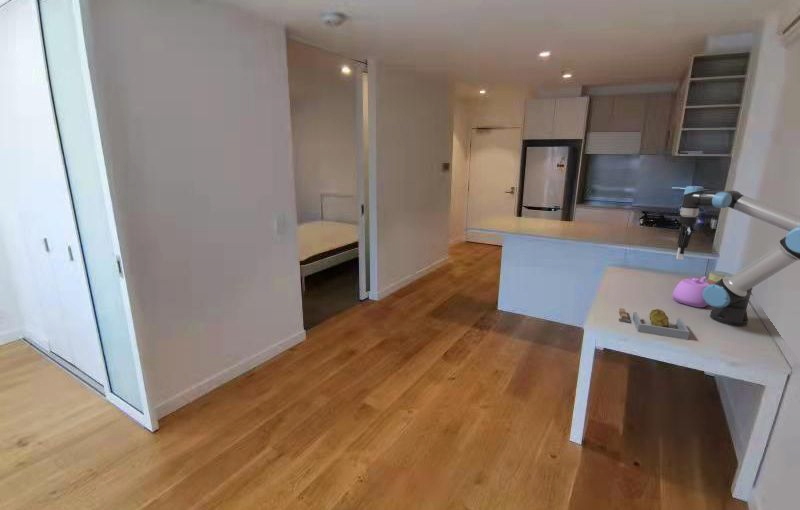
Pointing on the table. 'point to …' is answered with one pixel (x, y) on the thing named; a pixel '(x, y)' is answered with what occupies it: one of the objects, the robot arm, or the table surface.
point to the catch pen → (662, 329)
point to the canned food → (716, 276)
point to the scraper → (623, 316)
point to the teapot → (691, 292)
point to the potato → (659, 318)
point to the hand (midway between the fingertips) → (679, 259)
